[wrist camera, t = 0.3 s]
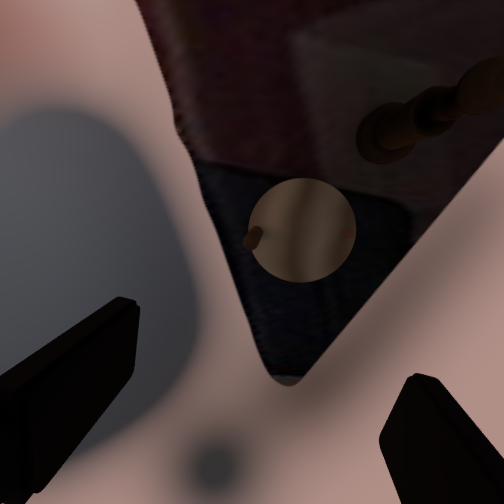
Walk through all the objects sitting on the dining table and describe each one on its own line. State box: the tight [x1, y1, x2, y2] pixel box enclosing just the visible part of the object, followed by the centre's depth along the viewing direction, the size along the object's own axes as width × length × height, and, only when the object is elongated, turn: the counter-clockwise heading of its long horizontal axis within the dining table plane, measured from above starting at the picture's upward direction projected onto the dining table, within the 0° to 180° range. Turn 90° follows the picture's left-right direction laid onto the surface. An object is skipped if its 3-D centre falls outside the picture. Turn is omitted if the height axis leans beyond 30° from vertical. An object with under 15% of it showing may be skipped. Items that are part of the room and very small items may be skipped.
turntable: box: [243, 178, 356, 282], centre depth 30 cm, size 14×14×8 cm
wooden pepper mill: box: [357, 56, 504, 164], centre depth 23 cm, size 7×6×18 cm
